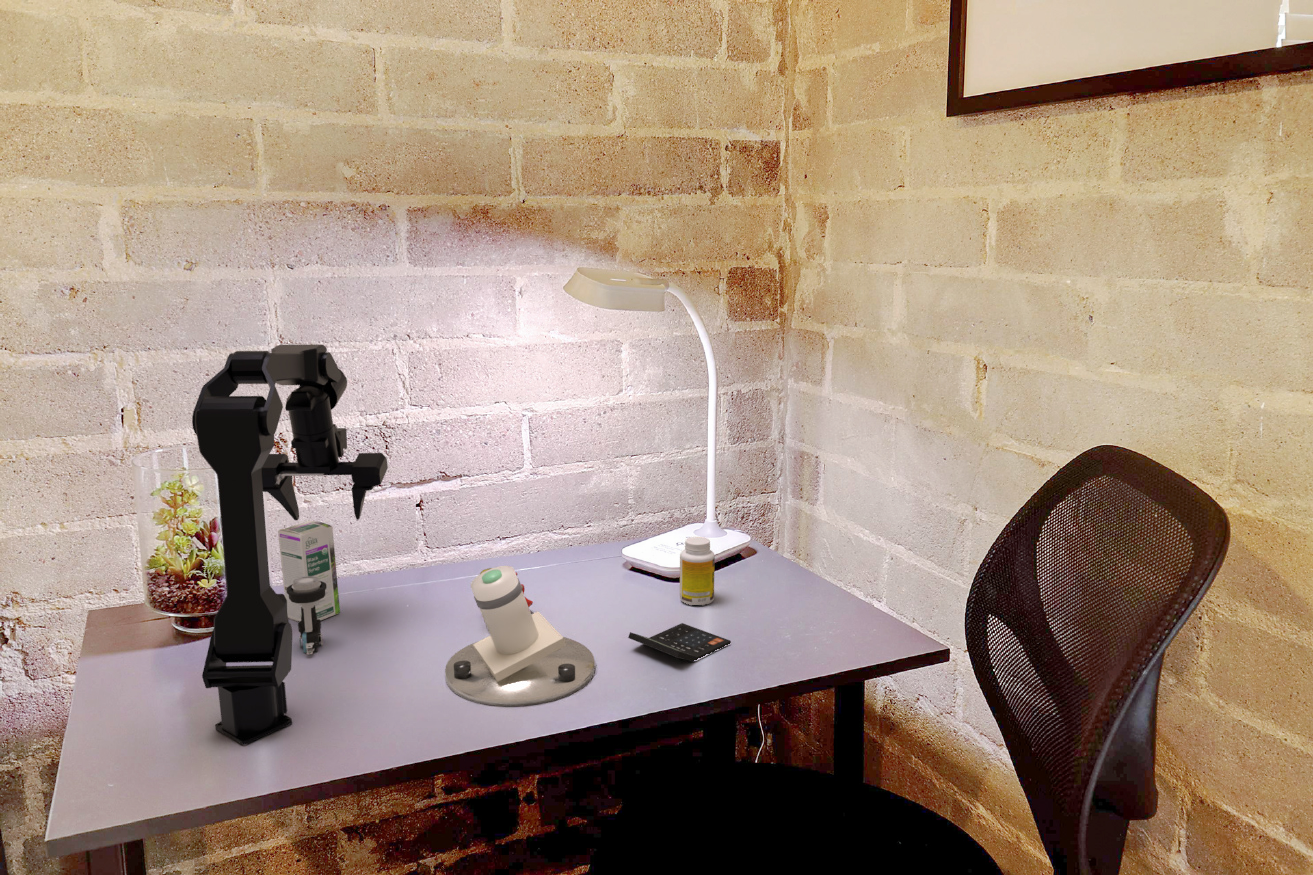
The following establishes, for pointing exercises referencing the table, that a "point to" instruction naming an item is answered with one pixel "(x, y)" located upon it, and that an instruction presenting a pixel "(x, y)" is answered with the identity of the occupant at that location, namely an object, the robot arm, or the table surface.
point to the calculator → (683, 642)
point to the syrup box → (310, 564)
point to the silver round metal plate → (521, 677)
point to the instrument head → (510, 624)
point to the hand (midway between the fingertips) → (327, 518)
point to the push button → (308, 609)
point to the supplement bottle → (697, 572)
